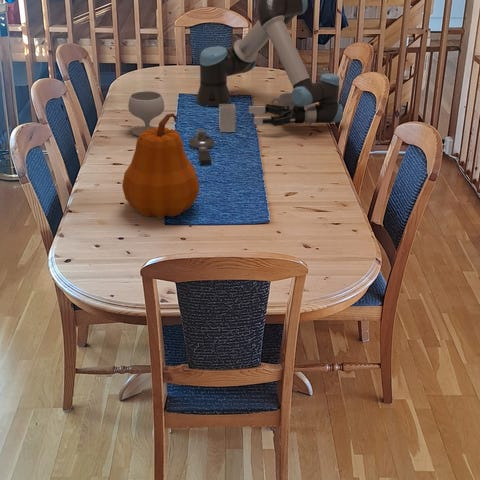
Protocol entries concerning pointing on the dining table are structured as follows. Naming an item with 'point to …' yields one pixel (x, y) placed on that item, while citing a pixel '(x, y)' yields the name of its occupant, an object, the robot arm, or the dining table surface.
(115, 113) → the dining table surface
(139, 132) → the chalice
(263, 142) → the dining table surface
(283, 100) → the teacup
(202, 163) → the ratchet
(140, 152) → the decorative pumpkin
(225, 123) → the tall taupe upright block
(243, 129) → the dining table surface
